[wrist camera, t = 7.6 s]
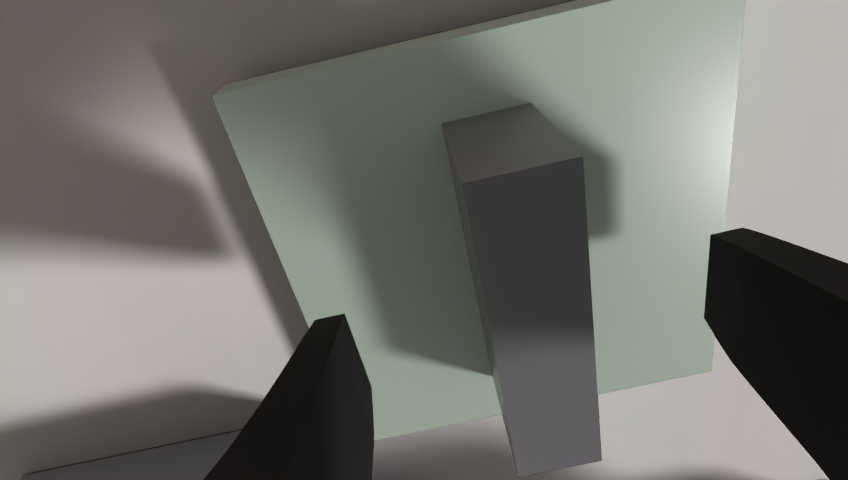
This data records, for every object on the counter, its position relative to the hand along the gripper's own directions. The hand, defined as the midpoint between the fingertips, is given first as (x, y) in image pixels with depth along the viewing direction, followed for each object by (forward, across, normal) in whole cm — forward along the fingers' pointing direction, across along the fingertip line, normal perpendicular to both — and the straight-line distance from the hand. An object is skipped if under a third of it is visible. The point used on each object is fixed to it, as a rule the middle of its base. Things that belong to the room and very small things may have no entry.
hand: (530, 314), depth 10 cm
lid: (+4, 0, 0) cm, 4 cm away
